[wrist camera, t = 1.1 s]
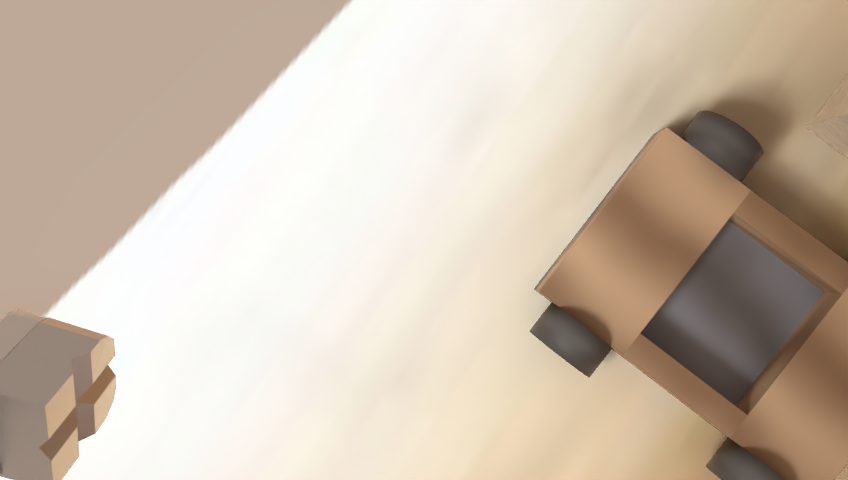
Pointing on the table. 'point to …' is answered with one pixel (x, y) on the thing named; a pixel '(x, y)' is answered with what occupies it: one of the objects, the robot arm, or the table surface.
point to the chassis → (712, 303)
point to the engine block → (833, 120)
